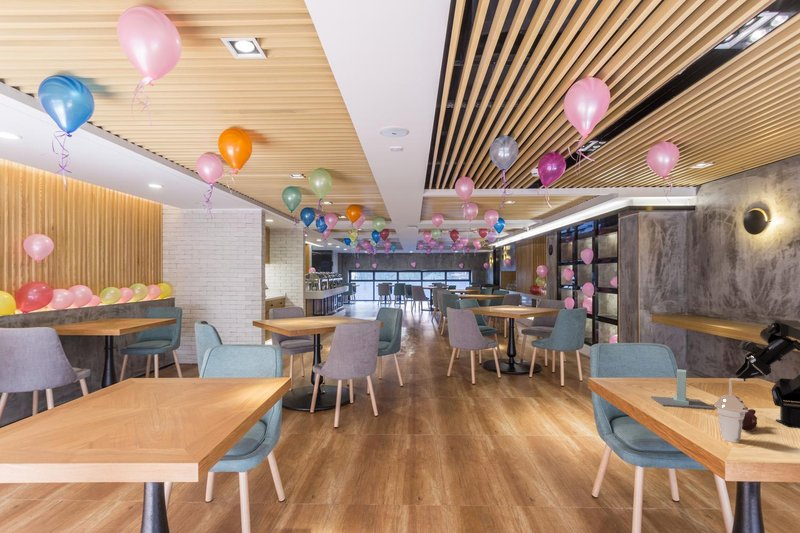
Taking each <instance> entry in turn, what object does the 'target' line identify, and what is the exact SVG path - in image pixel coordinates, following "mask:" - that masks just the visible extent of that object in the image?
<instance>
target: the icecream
mask: <svg viewBox="0 0 800 533" xmlns="http://www.w3.org/2000/svg"><path fill="white" fill-rule="evenodd" d="M755 414H756V410H755V409H753V408H752V409H751V408H750V409H749V408H748V412H745V417H744V419H743V425H742V430H745V431H750V430H752V429H754V428H756V427H757V424H758V417H757V416H756V415H755Z"/></svg>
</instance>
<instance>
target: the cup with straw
mask: <svg viewBox="0 0 800 533" xmlns="http://www.w3.org/2000/svg"><path fill="white" fill-rule="evenodd" d="M746 380H747V379H740V378H737V377H730V378H729V379H728V394H723V395H721V396H719V398H718V399H717V401H715V402H714V404H713V407H714V408H716V411H717V415H718V420H719V428H720V429H719V430H720V435H721V439H722V440H724V441H726V442H730V443H736V444H737V443H740V442H741V439H742V431H743V429H742V425H743V419H744V417H745V412H748V410H749V408H748V407H747V406H746V404H745V402H744V401H743V400H742V399H741V397H738V396H736V395H734V394H733V391H732V390H733V388H732V387H733V381H737V382H738V381H739V382H746Z"/></svg>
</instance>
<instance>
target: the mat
mask: <svg viewBox="0 0 800 533" xmlns="http://www.w3.org/2000/svg"><path fill="white" fill-rule="evenodd" d="M650 398H651V399H652V400H653V401H656V402H657V403H658V404H660V405H661V406H662V407H671V408H686V409H701V410H711V411H712V410H713V411H715V408H716V407H714V406H712V405H709V404H707V403H706V402H704V401H702V400H700V399H696V398H695V399H694V398H689V405H685V404H678V403H674V397H671V396H670V397H666V396H655V395H654V396H650Z"/></svg>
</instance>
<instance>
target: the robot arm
mask: <svg viewBox="0 0 800 533" xmlns="http://www.w3.org/2000/svg"><path fill="white" fill-rule="evenodd" d="M759 336H760V338H761V340H762V341H763V342H765V343H766V345H762V346H759V345H757V343H756V342H754V341H752V340H750V341H747V340H745V339H742V341H741V343H740V344H739V346H738V348H740V349H741V350H745V351H747V353H745V354H744V358H743V359H744V360H743V363H742V364H741V366H739V368H738V369H736V371H735V372H734V374H735V375H736V376H737V377H736V378H740V379H745V380H747V379H751V378H758V377H764V376H768V375H770V374H771V373H772V368H771V367H772V365H774V364H775V363H776V362H780V361H782V360H783V359H782V358H784V357H785V356H787V355H788V354H791V353H792V352H793V351H795V350H797V351H798V352H800V321H799V320H796V319H795V320H793V319H792V320H790V319H789V320H788V319H774V321H773V322H772V323H771V324H768V325H767V327H765V328H763V329H762V330H761V332H760V333H759ZM792 338H793V339H794V340H793V339H792ZM771 395H772V401H773V404H774V406H777V407H780V411H779V412H780V413H779V414H780V415H779V416H780V418H779V419H775V422H777V423H780V424H782V425H783V426H786V427H788V428H789V427H790V428H800V374H798V375H797V376H796V377H794V378H779V379H778V380H777V381H775V384H774V385H773V386H772V388H771Z"/></svg>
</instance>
